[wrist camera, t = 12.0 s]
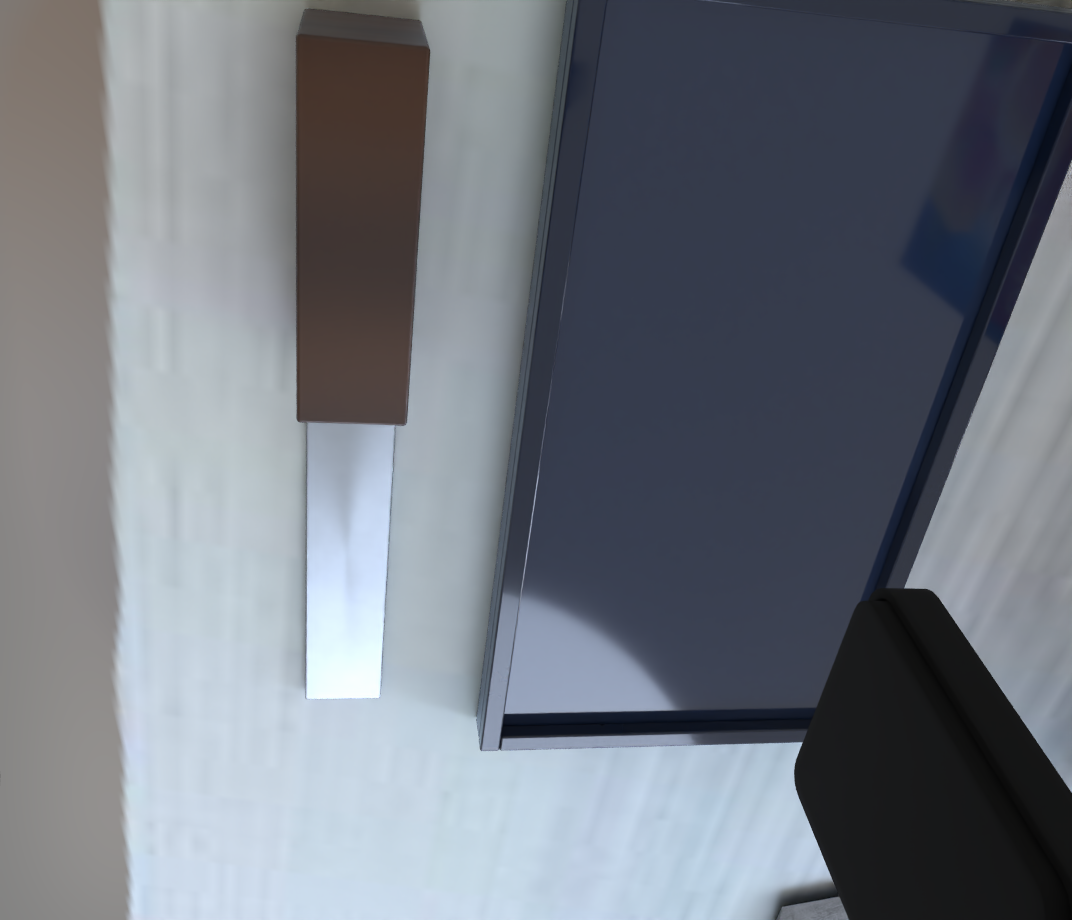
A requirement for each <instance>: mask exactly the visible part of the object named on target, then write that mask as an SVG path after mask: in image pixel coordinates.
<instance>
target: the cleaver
mask: <svg viewBox="0 0 1072 920" xmlns="http://www.w3.org/2000/svg"><path fill="white" fill-rule="evenodd" d="M777 920H849V919H848V917H847V914H846V912H845V909H844V907H843V904H842V902H841V899H840V897H833V898H828V899H822V900H817V901H811V902H806V903H800V904H795V905H789V906H783V907H782V908H781V910H780V913H779V915H778V918H777Z"/></svg>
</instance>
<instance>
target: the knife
mask: <svg viewBox="0 0 1072 920" xmlns="http://www.w3.org/2000/svg"><path fill="white" fill-rule="evenodd" d="M429 63H430V49H429V45H428V42H427V39H426V35H425V32H424V29H423V25H422V22H421V21H419V20H411V19H401V18H392V17H382V16H373V15H363V14H354V13H345V12H335V11H326V10H316V9H305V10H304V12H303V16H302V19H301V22H300V26H299V29H298V32H297V36H296V357H297V420H298V422H305V423H307V436H306V694H305V698H306V699H352V698H380V694H381V677H382V659H383V641H384V623H385V605H386V587H387V570H388V552H389V534H390V516H391V498H392V481H393V463H394V445H395V427H396V425H398V426H404V425H406V423H407V414H408V398H409V382H410V366H411V350H412V334H413V318H414V302H415V287H416V271H417V255H418V239H419V223H420V207H421V191H422V175H423V159H424V143H425V127H426V111H427V95H428V79H429Z"/></svg>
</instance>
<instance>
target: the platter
mask: <svg viewBox="0 0 1072 920" xmlns="http://www.w3.org/2000/svg"><path fill="white" fill-rule="evenodd" d="M1071 161H1072V9H1071V8H1063V7H1055V6H1047V5H1039V4H1031V3H1023V2H1014V1H1006V0H567V1H566V9H565V17H564V25H563V33H562V41H561V49H560V57H559V65H558V73H557V81H556V89H555V97H554V105H553V113H552V121H551V129H550V137H549V145H548V153H547V161H546V169H545V177H544V185H543V193H542V201H541V209H540V217H539V225H538V233H537V241H536V249H535V257H534V265H533V273H532V281H531V289H530V297H529V305H528V313H527V321H526V328H525V336H524V344H523V352H522V360H521V368H520V376H519V384H518V392H517V400H516V408H515V416H514V424H513V432H512V440H511V448H510V456H509V464H508V472H507V480H506V488H505V496H504V504H503V512H502V520H501V528H500V536H499V544H498V552H497V560H496V568H495V576H494V584H493V592H492V600H491V608H490V616H489V624H488V632H487V640H486V648H485V655H484V663H483V671H482V679H481V687H480V695H479V703H478V711H477V719H476V721H477V729H478V736H479V745H480V750H481V751H497V750H499V748H500V750H534V749H571V748H608V747H644V746H681V745H718V744H755V743H792V742H803V741H804V738H805V736H806V733H807V731H808V728H809V725H810V723H811V720H812V718H813V715H814V712H815V710H816V707H817V705H818V702H819V700H820V697H821V694H822V692H823V689H824V687H825V684H826V681H827V679H828V676H829V674H830V671H831V669H832V666H833V663H834V661H835V658H836V656H837V653H838V650H839V648H840V645H841V643H842V640H843V638H844V635H845V632H846V630H847V627H848V625H849V622H850V619H851V617H852V614H853V612H854V609H855V608H856V606H857V604H858V603H860V602H861V601H868V599H869V597H870V596H871V594H872V593H873V592H874V591H875V590H876V589H880V588H904V587H905V584H906V582H907V579H908V577H909V574H910V571H911V569H912V566H913V564H914V561H915V559H916V556H917V554H918V551H919V548H920V546H921V543H922V541H923V538H924V536H925V533H926V531H927V528H928V526H929V523H930V520H931V518H932V515H933V513H934V510H935V508H936V505H937V503H938V500H939V497H940V495H941V492H942V490H943V487H944V485H945V482H946V480H947V477H948V474H949V472H950V469H951V467H952V464H953V462H954V459H955V457H956V454H957V452H958V449H959V446H960V444H961V441H962V439H963V436H964V434H965V431H966V429H967V426H968V423H969V421H970V418H971V416H972V413H973V411H974V408H975V406H976V403H977V401H978V398H979V395H980V393H981V390H982V388H983V385H984V383H985V380H986V378H987V375H988V372H989V370H990V367H991V365H992V362H993V360H994V357H995V355H996V352H997V350H998V347H999V344H1000V342H1001V339H1002V337H1003V334H1004V332H1005V329H1006V327H1007V324H1008V321H1009V319H1010V316H1011V314H1012V311H1013V309H1014V306H1015V304H1016V301H1017V299H1018V296H1019V293H1020V291H1021V288H1022V286H1023V283H1024V281H1025V278H1026V276H1027V273H1028V270H1029V268H1030V265H1031V263H1032V260H1033V258H1034V255H1035V253H1036V250H1037V248H1038V245H1039V242H1040V240H1041V237H1042V235H1043V232H1044V230H1045V227H1046V225H1047V222H1048V219H1049V217H1050V214H1051V212H1052V209H1053V207H1054V204H1055V202H1056V199H1057V196H1058V194H1059V191H1060V189H1061V186H1062V184H1063V181H1064V179H1065V176H1066V174H1067V171H1068V168H1069V166H1070V163H1071Z"/></svg>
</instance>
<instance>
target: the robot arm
mask: <svg viewBox="0 0 1072 920" xmlns="http://www.w3.org/2000/svg"><path fill="white" fill-rule="evenodd" d="M794 777H795V786H796V790H797V793H798V796H799V799H800V801H801V804H802V806H803V809H804V811H805V814H806V816H807V818H808V821H809V823H810V826H811V828H812V831H813V833H814V836H815V838H816V840H817V843H818V845H819V848H820V850H821V853H822V855H823V858H824V860H825V863H826V865H827V867H828V870H829V872H830V875H831V877H832V880H833V882H834V885H835V887H836V890H837V892H838V894H839V897H840V899H841V902H842V904H843V907H844V909H845V912H846V914H847V917H848V919H849V920H1072V793H1071V791H1070V790H1069V788H1068V787H1067V785H1066V784H1065V782H1064V781H1063V780H1062V778H1061V777H1060V775H1059V774H1058V772H1057V771H1056V769H1055V768H1054V766H1053V765H1052V763H1051V762H1050V760H1049V759H1048V758H1047V756H1046V755H1045V753H1044V752H1043V750H1042V749H1041V747H1040V746H1039V744H1038V743H1037V741H1036V740H1035V738H1034V737H1033V736H1032V734H1031V733H1030V731H1029V730H1028V728H1027V727H1026V725H1025V724H1024V722H1023V721H1022V719H1021V718H1020V716H1019V715H1018V714H1017V712H1016V711H1015V709H1014V708H1013V706H1012V705H1011V703H1010V702H1009V700H1008V699H1007V697H1006V696H1005V694H1004V693H1003V692H1002V690H1001V689H1000V687H999V686H998V684H997V683H996V681H995V680H994V678H993V677H992V675H991V674H990V672H989V671H988V670H987V668H986V667H985V665H984V664H983V662H982V661H981V659H980V658H979V656H978V655H977V653H976V652H975V650H974V649H973V648H972V646H971V645H970V643H969V642H968V640H967V639H966V637H965V636H964V634H963V633H962V631H961V630H960V629H959V627H958V626H957V624H956V623H955V621H954V620H953V618H952V617H951V615H950V614H949V612H948V611H947V609H946V608H945V607H944V605H943V604H942V602H941V601H940V599H939V598H938V597H937V596H936V595H935V594H934V592H932V591H930V590H928V589H905V588H880V589H876V590H875V591H874V592H873V593H872V594H871V596H870V597H869V599H868V601H861V602H860V603H858V604H857V606H856V608H855V609H854V612H853V614H852V617H851V619H850V622H849V625H848V627H847V630H846V632H845V635H844V638H843V640H842V643H841V645H840V648H839V650H838V653H837V656H836V658H835V661H834V663H833V666H832V669H831V671H830V674H829V676H828V679H827V681H826V684H825V687H824V689H823V692H822V694H821V697H820V700H819V702H818V705H817V707H816V710H815V712H814V715H813V718H812V720H811V723H810V725H809V728H808V731H807V733H806V736H805V738H804V741H803V743H802V746H801V749H800V751H799V754H798V756H797V759H796V763H795V770H794Z"/></svg>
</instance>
